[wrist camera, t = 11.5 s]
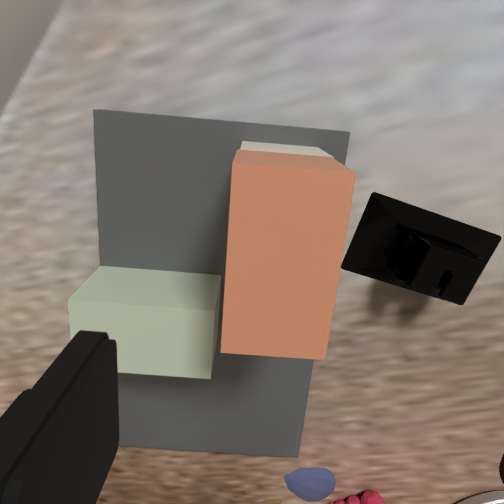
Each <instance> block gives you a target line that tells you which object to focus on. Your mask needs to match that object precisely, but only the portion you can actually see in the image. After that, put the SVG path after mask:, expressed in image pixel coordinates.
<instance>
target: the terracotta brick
mask: <svg viewBox="0 0 504 504" xmlns="http://www.w3.org/2000/svg"><path fill="white" fill-rule="evenodd" d="M355 177H356V173H355V172H354V171H352V170H351V169H349V168H348V167H346V166H344V165H343V164H341V163H340V162H338V161H337V160H335V159H334V158H332V157H326V156H314V155H302V154H289V153H277V152H265V151H253V150H240V149H237V152H236V154H235V157H234V160H233V162H232V176H231V192H230V208H229V224H228V241H227V257H226V273H225V289H224V305H223V321H222V337H221V353H231V354H245V355H259V356H274V357H288V358H303V359H317V360H325V358H326V352H327V346H328V340H329V334H330V328H331V322H332V316H333V310H334V304H335V298H336V292H337V286H338V280H339V274H340V268H341V262H342V256H343V250H344V244H345V238H346V232H347V225H348V219H349V213H350V207H351V201H352V195H353V189H354V183H355Z"/></svg>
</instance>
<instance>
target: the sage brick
mask: <svg viewBox="0 0 504 504" xmlns="http://www.w3.org/2000/svg"><path fill="white" fill-rule="evenodd" d="M220 290H221V275H213V274H200V273H187V272H175V271H162V270H149V269H137V268H124V267H111V266H100V267H99V268H98V269H97V270H96V271H95V272H94V273H93V274H92V275H91V276H90V277H89V278H88V279H87V280H86V281H85V282H84V283H83V284H82V285H81V286H80V287H79V288H78V289H77V291H76V292H75V293H74V294H73V295H72V296H71V297H70V298H69V299H68V310H69V323H70V336H71V340H72V338H73V337H74V336H75V335H76V334H77V332H79V331H80V330H85V331H97V332H106V333H108V336H109V339H114V340H116V343H117V368H118V372H119V373H133V374H147V375H160V376H174V377H188V378H202V379H211V374H212V367H213V361H214V354H215V348H216V342H217V335H218V321H219V305H220Z"/></svg>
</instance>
